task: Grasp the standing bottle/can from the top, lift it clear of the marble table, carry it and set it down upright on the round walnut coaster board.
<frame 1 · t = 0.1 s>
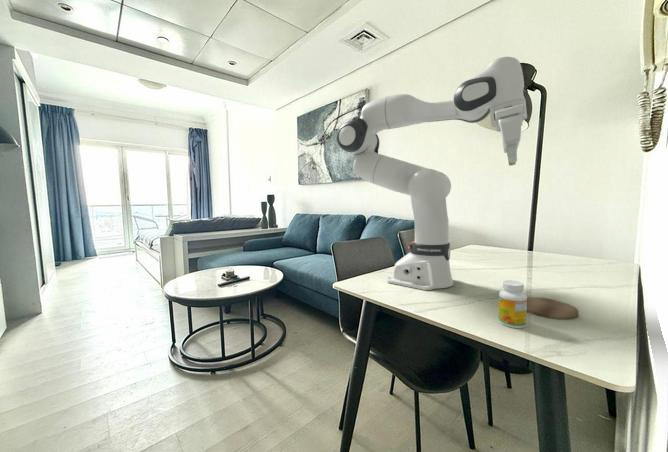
hand: (512, 163, 80), 39 cm above the table, tool pointing down, fingers open, 8 cm apart
supplement bottle: (512, 324, 63), on the table
walnut coaster: (547, 309, 70), on the table
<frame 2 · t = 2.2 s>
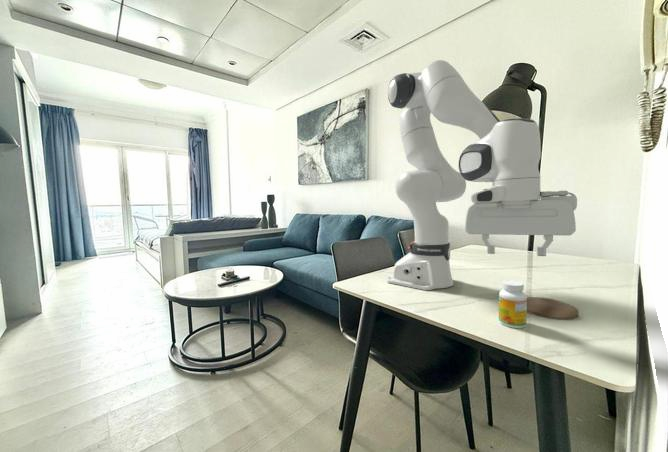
hand: (515, 254, 61), 16 cm above the table, tool pointing down, fingers open, 8 cm apart
nothing on the table moved.
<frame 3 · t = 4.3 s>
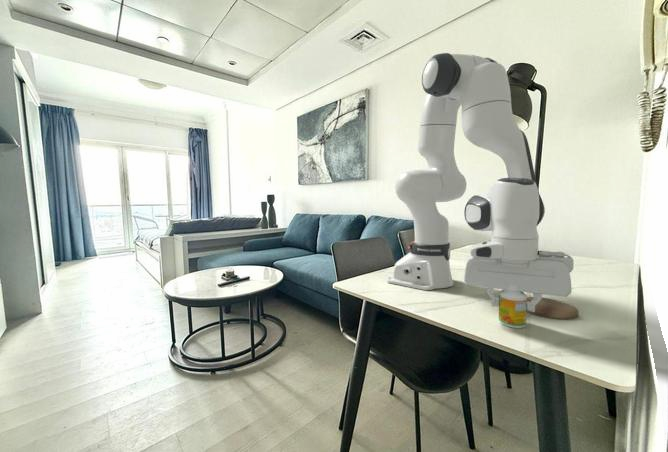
hand: (512, 308, 63), 4 cm above the table, tool pointing down, fingers closed on supplement bottle, 5 cm apart
supplement bottle: (511, 324, 63), on the table, touching gripper
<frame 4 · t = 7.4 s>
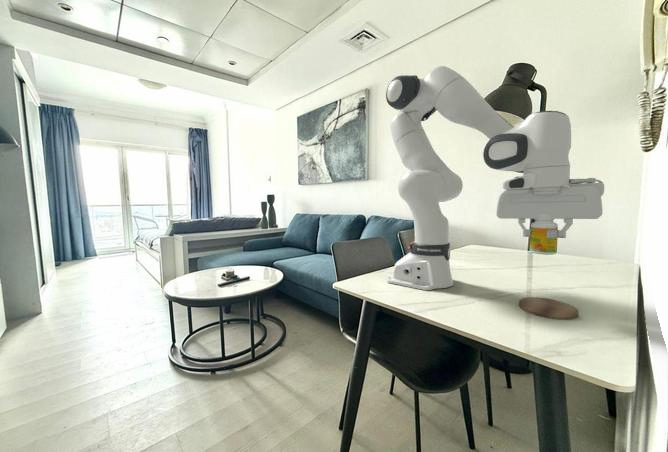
hand: (543, 237, 67), 19 cm above the table, tool pointing down, fingers closed on supplement bottle, 5 cm apart
supplement bottle: (542, 253, 67), point 15 cm above the table, touching gripper
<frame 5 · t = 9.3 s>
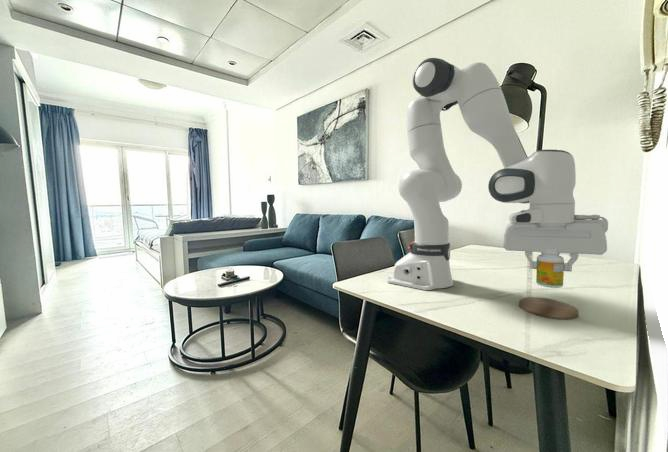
hand: (549, 269, 69), 10 cm above the table, tool pointing down, fingers closed on supplement bottle, 5 cm apart
supplement bottle: (549, 285, 69), point 6 cm above the table, touching gripper
when the fingers open (6 cm above the table, at t = 11.0 s): supplement bottle drops 1 cm, resting on walnut coaster.
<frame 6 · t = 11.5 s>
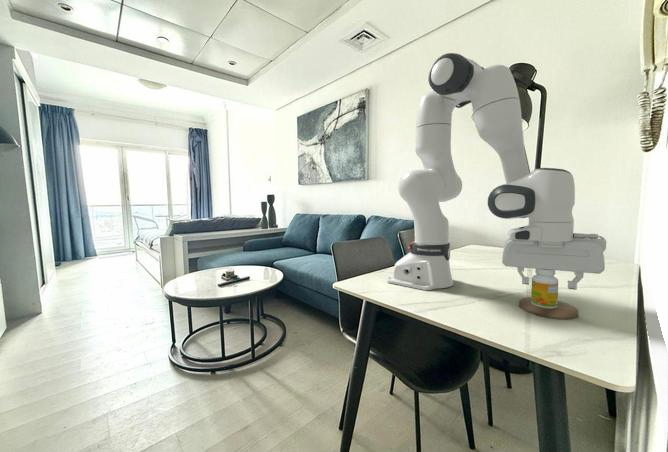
hand: (547, 286, 70), 6 cm above the table, tool pointing down, fingers open, 8 cm apart
supplement bottle: (543, 305, 70), point 1 cm above the table, touching walnut coaster
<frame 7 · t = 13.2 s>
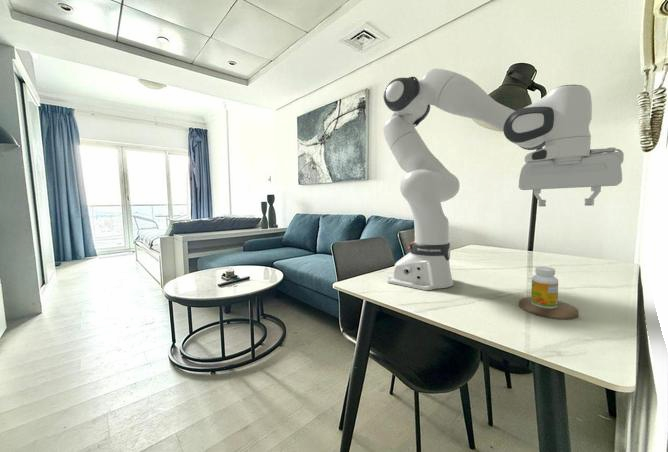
hand: (564, 206, 71), 26 cm above the table, tool pointing down, fingers open, 8 cm apart
nothing on the table moved.
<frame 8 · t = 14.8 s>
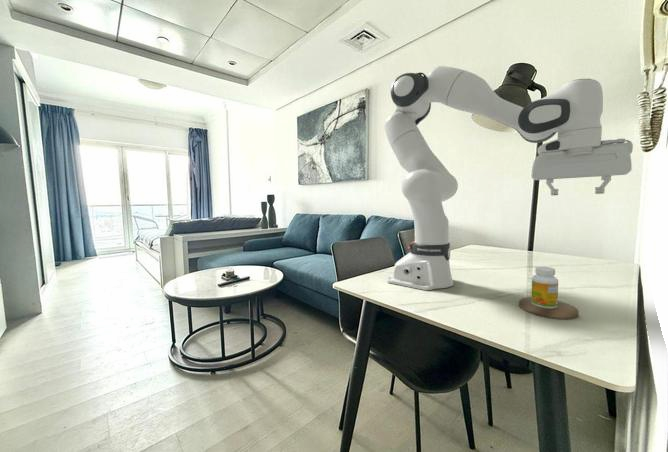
hand: (576, 194, 75), 29 cm above the table, tool pointing down, fingers open, 8 cm apart
nothing on the table moved.
at the end: supplement bottle inside the target area on the walnut coaster (0.7 cm from its centre), point 0.8 cm above the walnut coaster's base; supplement bottle tilted 0°; the gripper is holding nothing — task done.
